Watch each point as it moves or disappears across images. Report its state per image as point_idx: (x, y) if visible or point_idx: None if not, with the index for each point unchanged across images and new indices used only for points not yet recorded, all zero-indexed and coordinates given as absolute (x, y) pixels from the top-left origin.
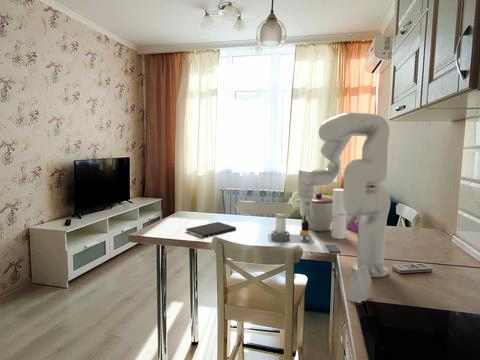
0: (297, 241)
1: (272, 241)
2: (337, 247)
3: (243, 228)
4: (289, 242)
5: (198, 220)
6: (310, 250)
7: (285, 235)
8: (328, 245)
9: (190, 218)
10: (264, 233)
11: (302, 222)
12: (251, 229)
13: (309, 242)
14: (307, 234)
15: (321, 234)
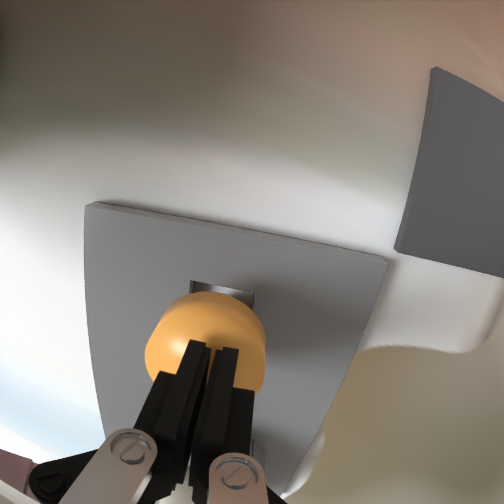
0: (296, 392)
1: None
2: (495, 97)
3: None
4: (307, 438)
5: None
6: (464, 331)
7: None
8: (445, 144)
9: None
10: (77, 452)
11: (174, 483)
12: (36, 458)
13: (349, 308)
14: (261, 334)
15: (43, 65)
